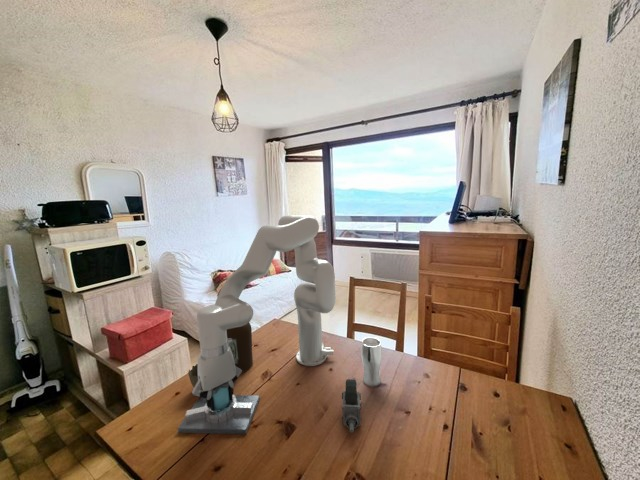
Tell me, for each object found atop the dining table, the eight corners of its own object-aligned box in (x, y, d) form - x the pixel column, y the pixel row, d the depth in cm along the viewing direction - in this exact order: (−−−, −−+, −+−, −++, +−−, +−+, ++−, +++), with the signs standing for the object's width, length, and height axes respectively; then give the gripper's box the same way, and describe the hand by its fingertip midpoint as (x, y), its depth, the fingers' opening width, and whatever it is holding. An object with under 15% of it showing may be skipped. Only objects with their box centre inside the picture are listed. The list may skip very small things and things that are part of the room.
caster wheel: (342, 401, 85) (341, 438, 71) (342, 373, 85) (340, 404, 70) (360, 402, 85) (362, 440, 70) (359, 373, 84) (361, 405, 69)
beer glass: (359, 384, 91) (359, 345, 89) (364, 372, 98) (363, 335, 95) (380, 389, 89) (379, 348, 86) (383, 376, 95) (383, 338, 93)
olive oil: (241, 355, 112) (236, 299, 108) (259, 362, 106) (255, 304, 103) (221, 369, 103) (214, 309, 99) (239, 378, 97) (233, 314, 94)
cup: (205, 398, 88) (202, 376, 87) (186, 395, 90) (183, 374, 88) (217, 383, 95) (215, 362, 94) (200, 380, 97) (197, 361, 96)
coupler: (225, 395, 84) (223, 375, 83) (232, 404, 80) (230, 383, 79) (209, 403, 80) (207, 383, 79) (215, 413, 77) (213, 391, 76)
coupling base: (259, 399, 86) (258, 388, 86) (246, 434, 74) (245, 421, 73) (201, 398, 88) (200, 388, 87) (178, 432, 75) (176, 420, 74)
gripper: (236, 333, 86) (241, 383, 89) (179, 354, 75) (187, 411, 77) (247, 341, 80) (251, 394, 83) (187, 366, 69) (195, 426, 72)
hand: (220, 402), depth 80 cm, fingers closed on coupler, 5 cm apart
